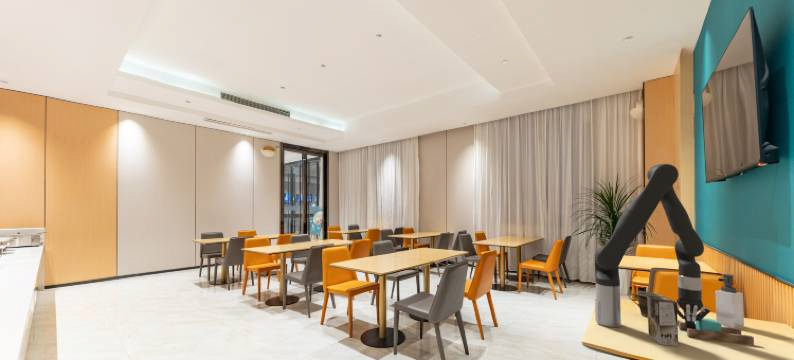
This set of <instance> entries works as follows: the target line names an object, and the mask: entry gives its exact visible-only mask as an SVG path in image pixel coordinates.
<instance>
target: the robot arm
mask: <svg viewBox="0 0 794 360" xmlns="http://www.w3.org/2000/svg"><path fill="white" fill-rule="evenodd" d="M646 177H647V180H648V182H647V183H646V185H645V186H644V188H643V190H642V191H641V192H640V193H639V194H638V195H637V196H636V197H634V199H633V200H631V202H630V203H628V205H627V206H626V208H625V209H624V211H623V212H622V214H621V215H620V217H619V218H618V220H617V223H616V225H615V227H614V230H613V232H612V234H611V236H610V238H609V240H608V241H607V242H606V243H605V245H604V246H602V247H599V248H597V250H596V251H595V253H594V277H595V299H594V309H595V310H594V311H595V312H594V313H595V314H594V315H595V322H596V323H597V325H601V326H604V327H609V328H619V327H621V326H622V318H621V317H622V316H621V315H622V314H621V312H622V311H621V280H620V271H619V268H620V264H621V262H622V260H623V258H624V256H625V254H626V252H627V250H628V248H629V247H630V245H631V244H632V243H633V242H634V241H635V239H636V238H637V237H638V235H639V234H640V232H642V231H643V229H644V227H645V225H646V224H647V223H648V222H649V220H650V218H651V217H652V215H653V213H654V212H655V210H656V209H657V207H658V205H659V204H660V203H661V205H662V208H663V210H664V212H665V215H666V218H667V221H668V223H669V226H670V229H671V231H672V232H673V234H675V235H677V236H678V238H679V239H677V240H676V242H675V244H674V252H675V256H676V260H677V262H678V264H677V265H678V277H677V300H676V302H677V316H679V317H680V318H681V319H682V320H684V322H685V327H686V328H689V329H695V323H696V321H701V320H702V319H703V318H705V317H706V316H707V315H708V314H709V313H711V311H710V309H709V308H706V307H705V306H704V304H703V295H702V294H703V293H702V292H703V289H702V288H703V286H702V285H703V284H702V276H701V273H702V272H701V271H702V270H701V265H700V264H699V262H697V261H696V258H697V257H700V256H702V255H703V253H704V252H705V246H704V245H705V244H704V243H703V241H702V239H701V238H700V236H699V234H698V233H697V231H696V230H695V228H694V227H693V224H692V221H691V218H690V217H689V214H688V212H687V210H686V208H685V207H684V204H683V203H682V202H681V200H680V198H679V197H678V195H677V194H676V191H675V188H674V185H675V183H676V182H677V180H678V178H679V170H678V168H677V167H676V166H675V165H673V164H669V163H661V164H655V165H653V166H651V167H649V169H648V171H647V173H646ZM680 309H681V310H682V312H683V313H682V312H681V311H680Z"/></svg>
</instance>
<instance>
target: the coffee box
mask: <svg viewBox="0 0 794 360" xmlns="http://www.w3.org/2000/svg"><path fill="white" fill-rule="evenodd" d="M647 305H648V317H647V327H648V328H647V329H648V337H650V338H651V339H652V340H654V341H655V342H657V343H658V344H659V345H663V346H672V347H673V346H674V347H675V346H676V347H678V346H679V321H678V314H677V301H674V300H673V299H670V298H668V297H666V296H663V295H661V296H647Z"/></svg>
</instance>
